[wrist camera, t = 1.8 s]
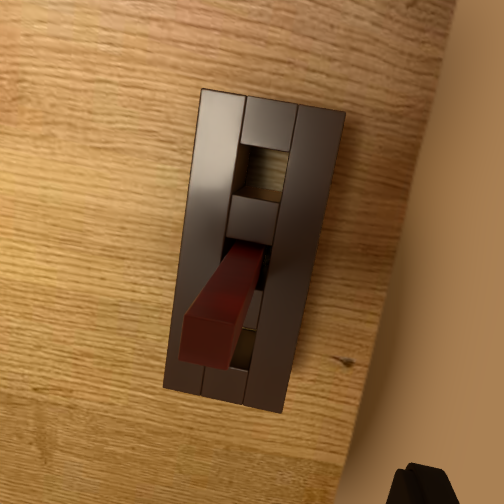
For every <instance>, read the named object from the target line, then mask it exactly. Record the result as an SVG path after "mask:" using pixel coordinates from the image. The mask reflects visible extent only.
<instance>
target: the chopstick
mask: <svg viewBox="0 0 504 504" xmlns="http://www.w3.org/2000/svg"><path fill="white" fill-rule="evenodd" d="M267 247H268V245H265V244H260V243H254V242H249V241H244V240H239V239H237V241H236V242H235V243H234V245H233V246H232V248H231V249H230V251H229V252H228V253H227V255H226V256H225V258H224V259H223V260H222V262H221V263H220V265H219V266H218V268H217V269H216V270H215V272H214V273H213V275H212V276H211V277H210V279H209V280H208V282H207V283H206V285H205V286H204V287H203V289H202V290H201V292H200V293H199V294H198V296H197V297H196V299H195V300H194V302H193V303H192V304H191V306H190V307H189V309H188V310H187V312H186V313H185V314H184V318H183V326H182V333H181V340H180V348H179V355H178V360H179V361H183V362H187V363H192V364H197V365H201V366H206V367H211V368H215V369H220V370H225V371H226V370H228V369H229V366H230V363H231V360H232V357H233V354H234V351H235V348H236V345H237V342H238V339H239V336H240V333H241V330H242V327H243V324H244V321H245V318H246V315H247V312H248V309H249V306H250V303H251V300H252V297H253V294H254V291H255V288H256V285H257V282H258V279H259V276H260V273H261V270H262V267H263V264H264V261H265V258H266V253H267Z"/></svg>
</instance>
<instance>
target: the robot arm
mask: <svg viewBox="0 0 504 504" xmlns="http://www.w3.org/2000/svg"><path fill="white" fill-rule="evenodd" d="M386 504H459V501H458V499H457V497H456V495H455V492H454V490H453V488H452V486H451V483H450V481H449V479H448V477H447V475H446V473H445V472H444V471H443V470H442V469H439V468H434V467H429V466H425V465H421V464H416V463H409V464H408V465H407V467H406V469H405V470H403V469H397V471H396V473H395V475H394V479H393V482H392V485H391V489H390V493H389V495H388V499H387V502H386Z"/></svg>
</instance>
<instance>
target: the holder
mask: <svg viewBox="0 0 504 504" xmlns="http://www.w3.org/2000/svg"><path fill="white" fill-rule="evenodd" d="M345 116H346V112H344V111H338V110H332V109H326V108H320V107H314V106H308V105H302V104H299V105H298V104H296V103H290V102H284V101H278V100H272V99H266V98H260V97H254V96H246V95H242V94H236V93H230V92H224V91H218V90H212V89H206V88H202V89H201V93H200V101H199V108H198V116H197V124H196V132H195V139H194V147H193V155H192V163H191V170H190V178H189V186H188V194H187V201H186V209H185V217H184V225H183V232H182V240H181V248H180V256H179V264H178V271H177V279H176V287H175V295H174V302H173V310H172V318H171V326H170V333H169V341H168V349H167V357H166V364H165V372H164V380H163V388H166V389H171V390H175V391H180V392H184V393H189V394H193V395H198V396H200V395H201V396H203V397H207V398H212V399H216V400H221V401H226V402H230V403H235V404H239V405H242V404H243V405H244V406H248V407H252V408H257V409H261V410H266V411H271V412H275V413H280V414H281V413H282V411H283V406H284V401H285V397H286V392H287V387H288V383H289V378H290V373H291V369H292V364H293V359H294V355H295V350H296V345H297V341H298V336H299V331H300V327H301V322H302V317H303V313H304V308H305V303H306V299H307V294H308V289H309V285H310V280H311V275H312V271H313V266H314V261H315V256H316V252H317V247H318V242H319V238H320V233H321V228H322V224H323V219H324V214H325V210H326V205H327V200H328V196H329V191H330V186H331V182H332V177H333V172H334V168H335V163H336V158H337V154H338V149H339V144H340V140H341V135H342V130H343V126H344V121H345ZM251 146H255V147H261V148H266V149H272V150H278V151H283V152H290V153H289V158H288V164H287V169H286V175H285V180H284V185H283V191H282V192H279V191H274V190H268V189H263V188H257V187H252V186H245V181H246V175H247V169H248V163H249V157H250V150H251ZM236 239H239V240H244V241H249V242H254V243H260V244H265V245H270V246H271V245H272V244H273V245H272V250H271V255H270V261H269V265H265V264H263V267H262V270H261V273H260V276H259V279H258V282H257V285H256V288H255V291H254V294H253V297H252V300H251V303H250V306H249V309H248V312H247V315H246V318H245V321H244V324H243V327H246V328H251V329H257V331H256V332H253V331H248V330H244V329H242V330H241V333H240V336H239V339H238V342H237V345H236V348H235V351H234V354H233V357H232V360H231V363H230V366H229V369H228V370H226V371H225V370H220V369H215V368H211V367H206V366H201V365H197V364H192V363H187V362H183V361H179V360H178V355H179V348H180V340H181V333H182V326H183V318H184V314H185V313H186V312H187V310H188V309H189V307H190V306H191V304H192V303H193V302H194V300H195V299H196V297H197V296H198V294H199V293H200V292H201V290H202V289H203V287H204V286H205V285H206V283H207V282H208V280H209V279H210V277H211V276H212V275H213V273H214V272H215V270H216V269H217V268H218V266H219V265H220V263H221V262H222V260H223V259H224V258H225V256H226V255H227V253H228V252H229V251H230V249H231V248H232V246H233V245H234V243H235V242H236Z"/></svg>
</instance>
